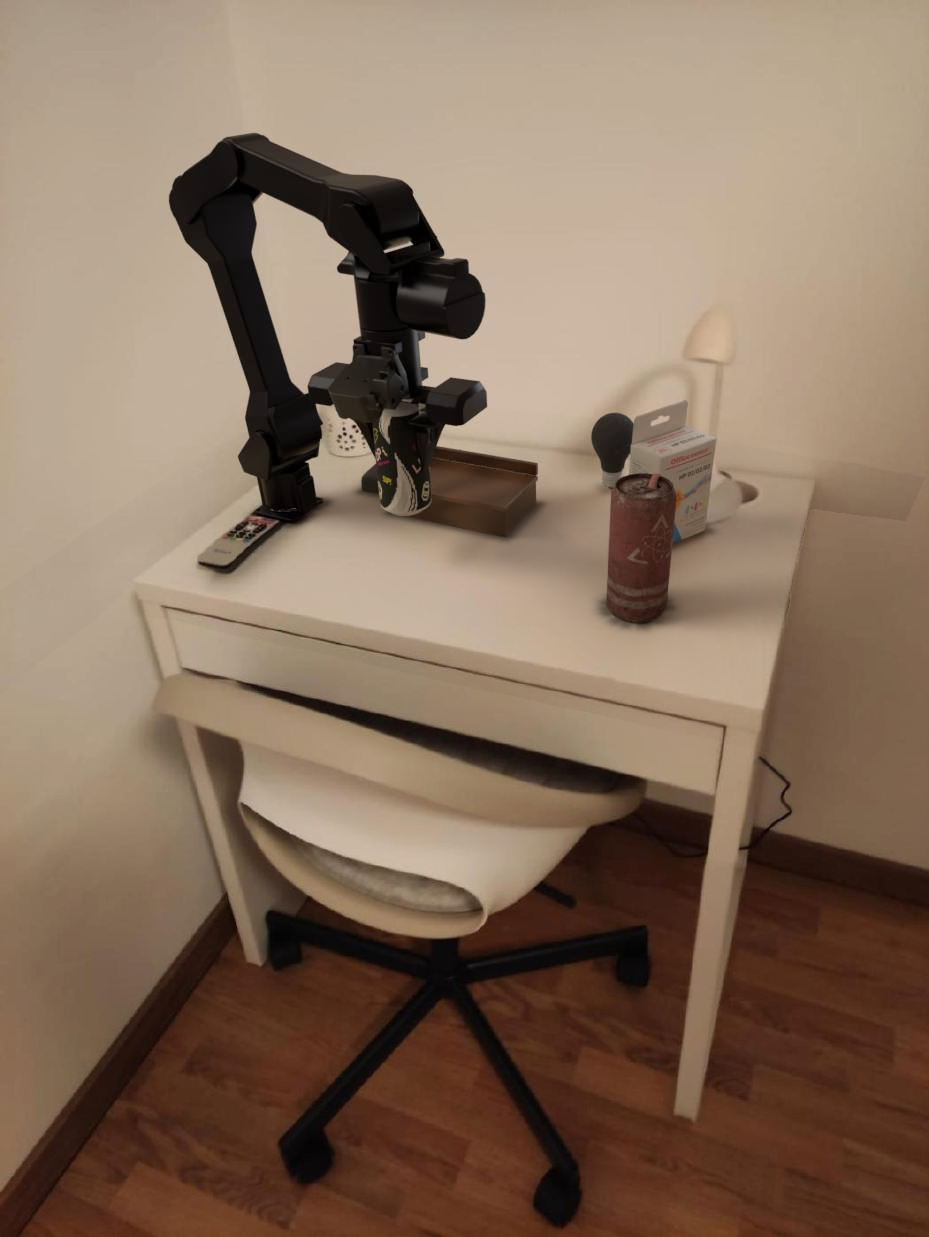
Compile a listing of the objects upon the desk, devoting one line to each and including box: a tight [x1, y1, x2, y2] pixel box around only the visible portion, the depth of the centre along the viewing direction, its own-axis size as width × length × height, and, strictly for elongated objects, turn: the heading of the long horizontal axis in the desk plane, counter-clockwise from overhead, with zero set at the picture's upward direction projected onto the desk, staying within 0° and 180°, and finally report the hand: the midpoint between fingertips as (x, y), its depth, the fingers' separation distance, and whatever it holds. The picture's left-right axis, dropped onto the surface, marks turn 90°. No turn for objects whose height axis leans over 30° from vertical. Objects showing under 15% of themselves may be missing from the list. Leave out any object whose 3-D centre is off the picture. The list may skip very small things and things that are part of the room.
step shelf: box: [406, 445, 539, 538], centre depth 110 cm, size 16×10×6 cm, turn 62°
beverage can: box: [372, 402, 431, 517], centre depth 95 cm, size 6×6×12 cm
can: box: [605, 473, 677, 624], centre depth 87 cm, size 6×6×14 cm
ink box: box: [628, 399, 717, 544], centre depth 99 cm, size 8×5×15 cm, turn 123°
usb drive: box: [360, 463, 379, 495], centre depth 120 cm, size 5×12×3 cm, turn 158°
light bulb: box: [590, 412, 634, 490], centre depth 111 cm, size 6×6×10 cm
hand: (403, 468), depth 96 cm, fingers closed on beverage can, 5 cm apart
